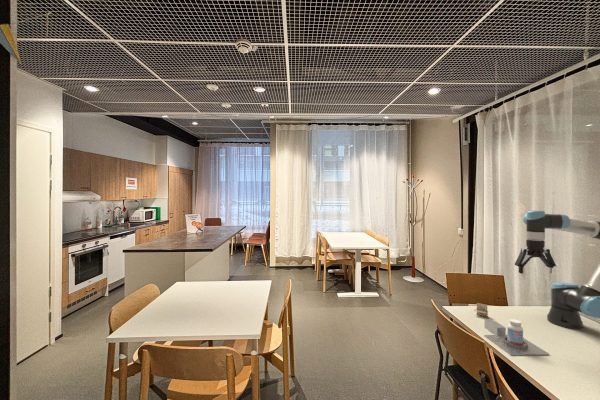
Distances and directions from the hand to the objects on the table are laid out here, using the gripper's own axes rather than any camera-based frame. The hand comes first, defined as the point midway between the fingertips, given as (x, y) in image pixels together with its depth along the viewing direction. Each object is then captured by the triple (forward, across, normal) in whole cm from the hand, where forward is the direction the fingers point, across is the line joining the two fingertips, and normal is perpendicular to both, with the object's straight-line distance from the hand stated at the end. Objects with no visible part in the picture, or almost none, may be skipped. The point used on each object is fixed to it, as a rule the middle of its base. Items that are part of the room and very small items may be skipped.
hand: (534, 279), depth 150 cm
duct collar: (+29, +20, +7) cm, 36 cm away
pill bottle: (+28, +20, +12) cm, 37 cm away
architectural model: (+29, +13, -22) cm, 39 cm away
